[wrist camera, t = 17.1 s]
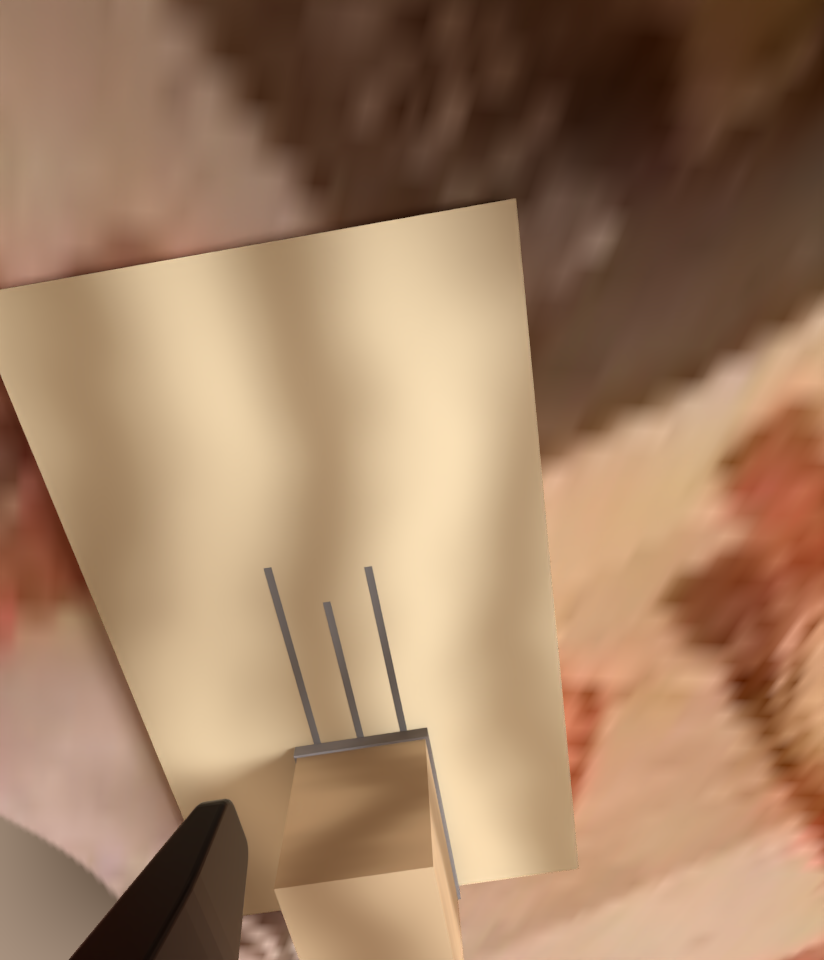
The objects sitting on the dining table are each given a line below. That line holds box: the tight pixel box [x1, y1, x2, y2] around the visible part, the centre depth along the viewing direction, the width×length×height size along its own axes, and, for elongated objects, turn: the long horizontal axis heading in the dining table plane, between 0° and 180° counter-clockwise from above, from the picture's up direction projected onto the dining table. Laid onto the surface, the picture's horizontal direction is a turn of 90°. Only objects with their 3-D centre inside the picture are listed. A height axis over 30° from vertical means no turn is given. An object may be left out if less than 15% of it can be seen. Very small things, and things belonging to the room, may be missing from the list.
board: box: [0, 198, 579, 916], centre depth 21 cm, size 14×24×1 cm, turn 9°
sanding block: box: [274, 728, 464, 960], centre depth 21 cm, size 5×8×5 cm, turn 10°
